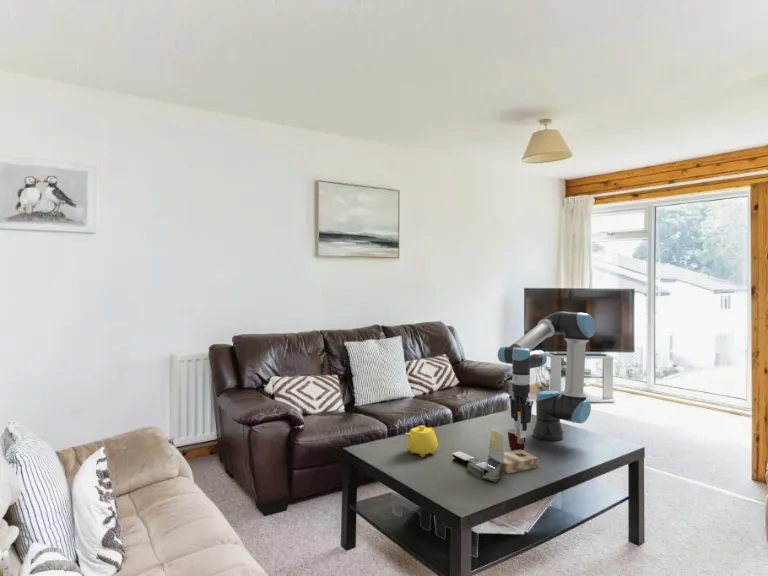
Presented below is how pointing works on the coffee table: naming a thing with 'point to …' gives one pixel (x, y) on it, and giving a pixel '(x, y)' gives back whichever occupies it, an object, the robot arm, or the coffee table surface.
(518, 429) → the pin
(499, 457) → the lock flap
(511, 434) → the mug
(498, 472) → the rock sample
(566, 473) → the coffee table surface
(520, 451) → the block
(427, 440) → the teapot
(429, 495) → the coffee table surface
